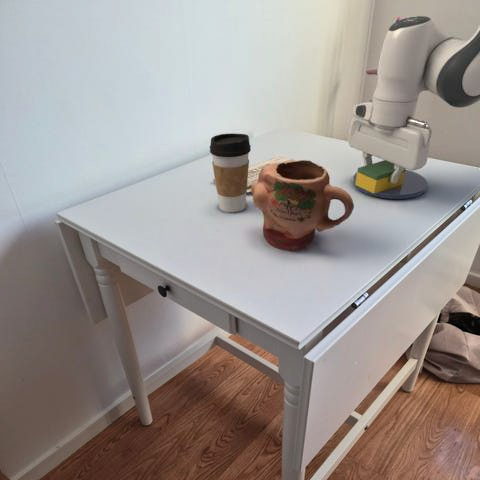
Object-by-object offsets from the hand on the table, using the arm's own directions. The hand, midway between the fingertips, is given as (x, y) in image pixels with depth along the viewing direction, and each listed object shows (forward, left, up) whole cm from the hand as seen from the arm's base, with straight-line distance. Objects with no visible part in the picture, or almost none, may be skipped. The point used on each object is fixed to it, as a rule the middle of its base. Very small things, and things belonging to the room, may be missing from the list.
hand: (379, 177), depth 97 cm
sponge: (0, 0, -2) cm, 2 cm away
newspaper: (+18, -21, -3) cm, 28 cm away
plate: (-4, 0, -3) cm, 5 cm away
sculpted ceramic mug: (+30, +9, -3) cm, 31 cm away
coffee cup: (+33, -12, -3) cm, 35 cm away
